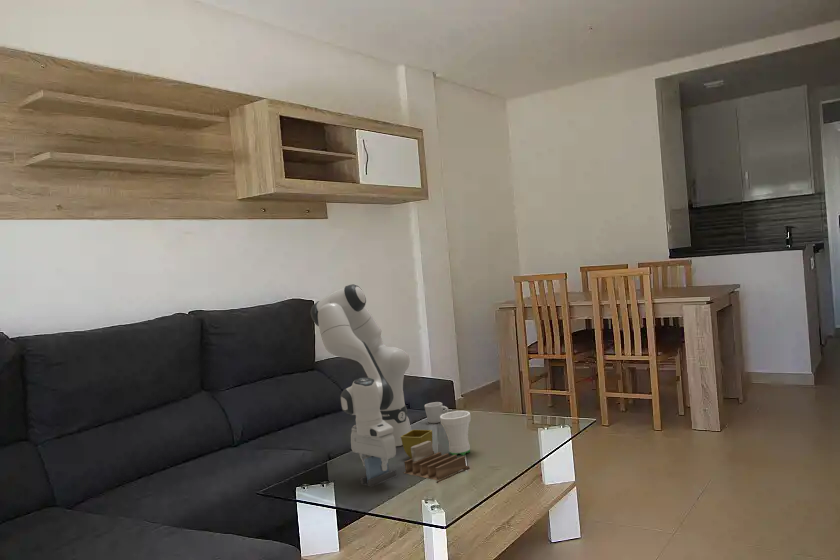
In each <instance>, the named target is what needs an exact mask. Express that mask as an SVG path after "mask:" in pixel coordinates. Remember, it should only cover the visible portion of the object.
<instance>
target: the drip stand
mask: <svg viewBox="0 0 840 560" xmlns="http://www.w3.org/2000/svg"><path fill="white" fill-rule="evenodd" d="M397 477H398V475H397V471H396V470H395V469H392V470H389V472H387V473H384V474H382V475H379V476H377V477H374V478H372V479H369V480H368V483H367V475H365V476H363V477H360V482H359V484H360V485H364V486H369V487H371V488H373V487H375V486H378V485H380V484H383V483H385V482H387V481H390V480H392V479H394V478H397Z"/></svg>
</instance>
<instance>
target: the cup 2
mask: <svg viewBox="0 0 840 560" xmlns="http://www.w3.org/2000/svg"><path fill="white" fill-rule="evenodd" d="M471 417H472V416H471V413H470V411H466V410H455V411H449V412H448V413H447V412H445V413H444V414H442V415H441V416H440V421H441V422H440V424H441V425H442V427H443V429H444V431H445V434H446V436H447V439H448V440H447V441H448V451H449V455H451V456H453V455H457V456H458V454H460V455H461V456H466V454H468V453H471V446H470V442H469V426H470V423H471V420H472V418H471Z"/></svg>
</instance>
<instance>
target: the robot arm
mask: <svg viewBox="0 0 840 560" xmlns="http://www.w3.org/2000/svg"><path fill="white" fill-rule="evenodd" d="M366 303H367V298H366V296H365V293H364V291H363V290H362V289H361V287H360V286H359V285H356V284H347V285H345V286H344V287H342V288H339V289H337V290H335V291H333V292H331V293H330V294H328V295H326V296H325V297H324V298H322V299H320V300H318V301H316V302H315V303H313V305H312V306H311V308H310V316H311V319H312V321H313V323H314V324H315V326H317V327H318V329H319V334H320V336H321V337H320V338H321V340H322V343H323V346H324V348H325V350H326V351H327V352H328V353H329V354H331V355H333V356H335V357H337V358H343V359H349V360H353V361H355V362H358V364H360V365H361V366H362V368H363V370H364V372H365V374H366V376H367V377H359V378H357V379H354V381H353V382H352V384H351V386H348V387H347V388H344V389H343V390H342V392H341V394H340V395H339V401H340V407H341V411H342V412H344V413H345V414H347V415H349V416H355V424H354V425H353V426H352V427H351V432H350V448H351V451H352V452H353V453H354V454H355V453H356V454H358V455H359V458H360V460H361V461H362V465H363V467H364V468H365V461H364V459H366V458H368V456H369V457H371V456H374V457H379V458H381V461H382V465H380V470H381V471H386V470H387V463H388V464H389V459H392V458H395V457H396V455H397V447H400V446H403V444H402V440H401V436H402V435H404V434H406V433H408V432H410V431H412V427H411V423H410V419H409V417H408V409H407V405H406V404H405V394H404V378H405V373H406V372H407V370H408V368H409V367H410V362H411V361H410V356H409V353H407V351H406V350H404V349H402V348H400V347H397V346H387V345H386V344H385V343H384V341H383V339H382V329H381V327H380V326H379V324H378V323H377V321H376V320H375V318H374V317H373V315H372V314H371V312H370V311H369V310H368V308H367V306H366Z"/></svg>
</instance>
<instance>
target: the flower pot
mask: <svg viewBox="0 0 840 560" xmlns="http://www.w3.org/2000/svg"><path fill="white" fill-rule="evenodd" d="M401 440H402V444H403V445H402V447H403V449H404V452H405V454H406V455H407V456H408V458H409V459H412V453H411V447H413V446H415V445H418V444H420V443H423V442H426V441H432V442H433V430H432V429H411V431H410V432H408V433H406V434H404V435H402V436H401Z"/></svg>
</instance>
